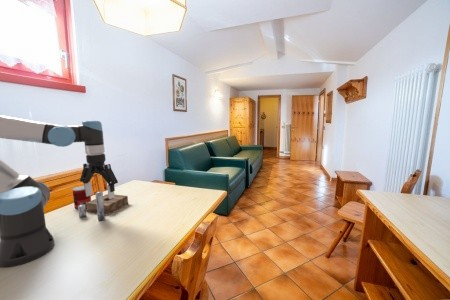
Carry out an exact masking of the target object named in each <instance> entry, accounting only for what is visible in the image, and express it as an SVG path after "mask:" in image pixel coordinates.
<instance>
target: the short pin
mask: <svg viewBox="0 0 450 300" xmlns="http://www.w3.org/2000/svg"><path fill="white" fill-rule="evenodd" d="M77 211H78V218H79V219H83V218H86V217H87V207H86V208H85V204H82V205H79V206H78V209H77Z"/></svg>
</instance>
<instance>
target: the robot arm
mask: <svg viewBox="0 0 450 300" xmlns="http://www.w3.org/2000/svg"><path fill="white" fill-rule="evenodd" d="M0 139H5V140H12V141H13V140H15V141H22V142H30V143H37V144H38V143H39V144H45V145H54V146H56V147H60V148H61V147H62V148H65V147H68V146H70V145H72V144H73V143H83V142H84V153H85V154H86V156H85V158H86V159H85V160H86V163H83V164H82V166H83V168H82V171H81V176H80V178H79V182H80V183H83V184H84V185H83V186H85V190H86V197H88V196H90V195H91V196H92V195H93V187H92V182H91V180H92V178H93V177H94V174H98V175H99V176H101V177H102V179H104V181H105V182H106V184H107V194H108V197H109V199H111V198H114V197H115V196H114V194H115V191H116V189H115V185H117V184H118V183H119V181H118V179H117V177H116V175H115V172H114V171H113V169H112V166H111V164H110V163H108V164H105V162H106V160H107V159H106V154H105V144H104V131H103V125H102V122H101V121H99V120H83V121H81V124H79V125H60V124H53V123H46V122H41V121H34V120H29V119H23V118H18V117H12V116H6V115H0ZM50 197H51V191H50V187H49V186H48V185H47V184H45V183H44V182H42V181H37V180H35V179H34V178H32V177H31V176H30V175H28V174H27V175H24V174H23V175H21V174H20V173H19V172H17V171H16V170H14V169H13V168H12V167H11V166H9V165H8V164H7V163H5V162H4V161H3V160H2V159H0V268H8V267H15V266H19V265H23V264H26V263H30V262H32V261H34V260H36V259H39V258H40V257H43V256H44V255H45V254H46V255H47V253H48V252H50V251H51V250H53V248H54V246H55V239H54V237H53V235H52V233H51V232H50V230H49V229H48V228H47V226H46V218H45V217H46V216H45V207H46V205H47V204H48V202H49V201H50Z"/></svg>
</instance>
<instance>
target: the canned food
mask: <svg viewBox="0 0 450 300" xmlns="http://www.w3.org/2000/svg"><path fill="white" fill-rule="evenodd" d="M72 196H73V198H72V199H73V205H74V208H75V209H77V210H78V206H79V205H82V204H85V208H86V209H87V204H86V203H87V202H90V201H92V195H90V196H88V197H86V190H85V186H84V185H80V186H77V187H73V188H72Z"/></svg>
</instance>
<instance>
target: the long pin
mask: <svg viewBox="0 0 450 300" xmlns="http://www.w3.org/2000/svg"><path fill="white" fill-rule="evenodd" d="M94 194H95V199H96V205H97V213H96V214H97V215H96V216H97V221H98V222H102V221H105V220H106V214H105V212H104V201H103V196H104V192H103V191H102V190H101V191H96V192H95V193H94Z"/></svg>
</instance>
